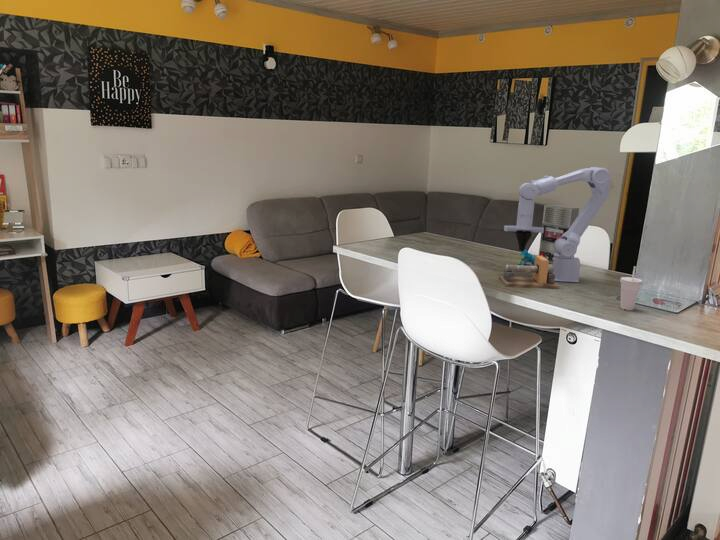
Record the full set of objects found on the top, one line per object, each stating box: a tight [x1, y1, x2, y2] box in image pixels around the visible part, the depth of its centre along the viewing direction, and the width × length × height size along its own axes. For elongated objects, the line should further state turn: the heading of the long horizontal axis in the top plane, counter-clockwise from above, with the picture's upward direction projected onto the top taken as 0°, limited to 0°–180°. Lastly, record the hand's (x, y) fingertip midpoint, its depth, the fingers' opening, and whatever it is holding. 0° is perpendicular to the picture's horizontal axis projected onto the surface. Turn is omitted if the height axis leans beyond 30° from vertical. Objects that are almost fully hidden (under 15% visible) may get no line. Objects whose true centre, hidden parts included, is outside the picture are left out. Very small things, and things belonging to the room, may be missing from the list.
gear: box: [517, 249, 535, 266], centre depth 235 cm, size 11×6×10 cm
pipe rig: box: [498, 264, 560, 290], centre depth 205 cm, size 19×12×7 cm, turn 88°
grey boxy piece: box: [538, 204, 580, 265], centre depth 241 cm, size 14×6×25 cm, turn 37°
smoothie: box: [619, 265, 643, 311], centre depth 176 cm, size 6×6×14 cm
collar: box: [532, 255, 550, 284], centre depth 204 cm, size 2×9×9 cm, turn 178°
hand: (521, 250), depth 213 cm, fingers closed
